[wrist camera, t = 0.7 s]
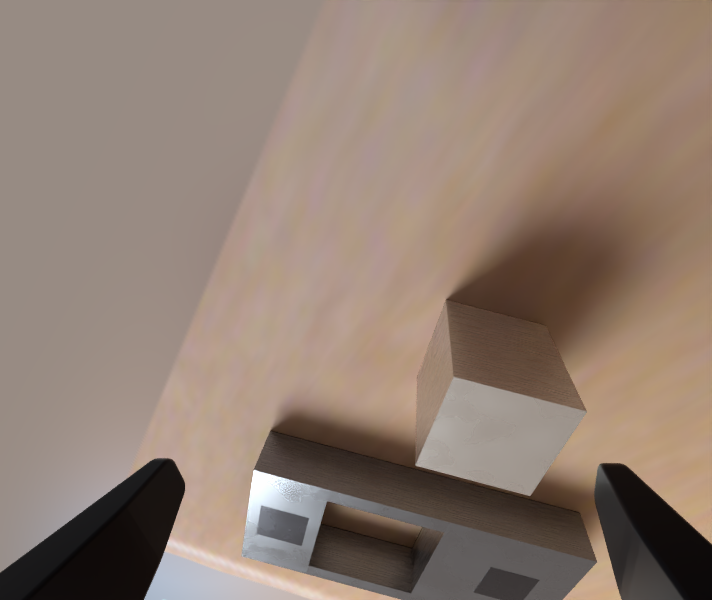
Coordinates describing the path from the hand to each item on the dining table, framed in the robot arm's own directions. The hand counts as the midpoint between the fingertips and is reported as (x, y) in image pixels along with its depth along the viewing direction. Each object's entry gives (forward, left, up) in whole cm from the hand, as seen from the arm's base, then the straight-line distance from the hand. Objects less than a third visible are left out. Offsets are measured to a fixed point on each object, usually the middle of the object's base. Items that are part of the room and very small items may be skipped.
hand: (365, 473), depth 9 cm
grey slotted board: (-5, +18, -13) cm, 23 cm away
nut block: (-5, +4, -13) cm, 14 cm away
